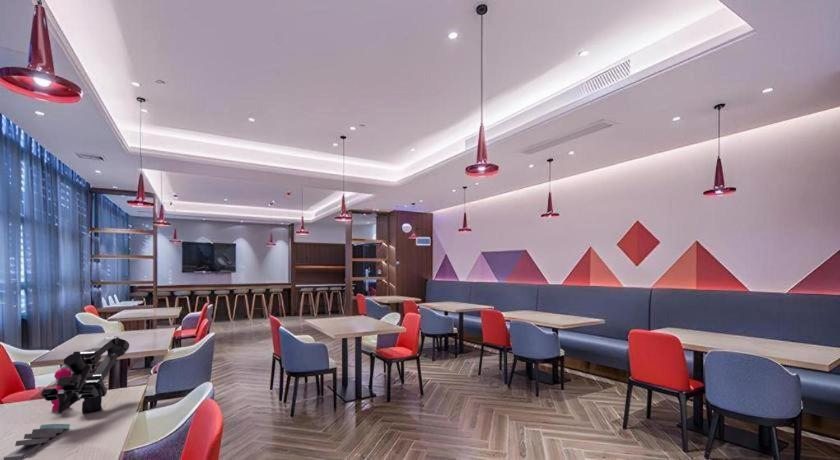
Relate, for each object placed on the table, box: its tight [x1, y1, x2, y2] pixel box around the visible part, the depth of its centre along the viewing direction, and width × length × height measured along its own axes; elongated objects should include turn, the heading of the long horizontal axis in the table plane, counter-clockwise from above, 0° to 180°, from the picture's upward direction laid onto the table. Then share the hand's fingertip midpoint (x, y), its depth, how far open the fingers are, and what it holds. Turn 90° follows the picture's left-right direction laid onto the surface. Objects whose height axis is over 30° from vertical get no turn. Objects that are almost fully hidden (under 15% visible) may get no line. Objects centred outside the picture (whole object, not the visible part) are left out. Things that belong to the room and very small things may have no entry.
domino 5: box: [39, 423, 71, 430], centre depth 160 cm, size 2×5×10 cm
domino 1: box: [14, 437, 50, 447], centre depth 148 cm, size 2×5×10 cm
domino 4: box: [31, 428, 64, 434], centre depth 156 cm, size 2×5×10 cm
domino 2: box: [3, 443, 42, 460], centre depth 143 cm, size 2×5×10 cm
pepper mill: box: [50, 364, 72, 412], centre depth 188 cm, size 7×7×20 cm
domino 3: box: [23, 432, 57, 440], centre depth 152 cm, size 2×5×10 cm
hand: (59, 413), depth 163 cm, fingers closed
